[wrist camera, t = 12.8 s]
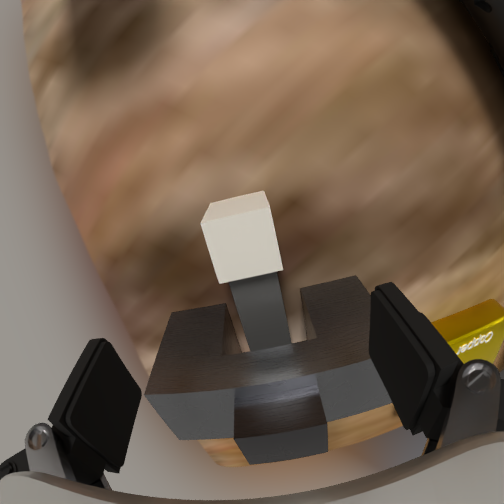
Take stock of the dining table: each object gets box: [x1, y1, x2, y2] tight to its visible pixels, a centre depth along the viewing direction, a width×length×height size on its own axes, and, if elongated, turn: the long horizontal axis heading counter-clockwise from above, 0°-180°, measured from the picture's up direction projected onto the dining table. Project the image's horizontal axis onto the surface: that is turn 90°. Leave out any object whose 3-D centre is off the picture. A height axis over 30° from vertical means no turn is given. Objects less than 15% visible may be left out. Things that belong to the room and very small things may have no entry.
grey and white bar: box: [201, 191, 292, 351], centre depth 22 cm, size 4×18×5 cm, turn 13°
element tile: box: [431, 299, 504, 364], centre depth 27 cm, size 15×15×5 cm
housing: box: [144, 276, 392, 465], centre depth 19 cm, size 16×6×12 cm, turn 102°
